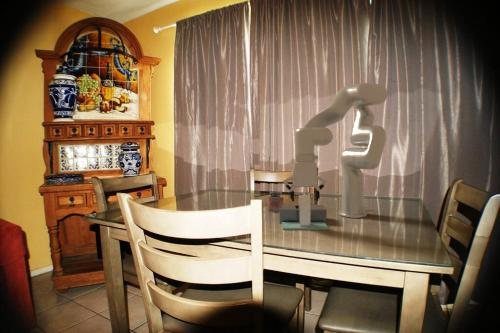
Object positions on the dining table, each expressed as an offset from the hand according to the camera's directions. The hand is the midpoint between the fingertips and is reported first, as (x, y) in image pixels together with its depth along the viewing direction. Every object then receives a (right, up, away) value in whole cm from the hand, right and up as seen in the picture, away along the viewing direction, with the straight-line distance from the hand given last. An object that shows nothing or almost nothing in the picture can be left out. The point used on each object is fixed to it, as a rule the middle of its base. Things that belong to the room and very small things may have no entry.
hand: (304, 200), depth 116 cm
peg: (0, -10, +1) cm, 10 cm away
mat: (0, -11, +1) cm, 11 cm away
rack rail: (+1, -10, +10) cm, 14 cm away
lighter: (-9, -9, +27) cm, 29 cm away
